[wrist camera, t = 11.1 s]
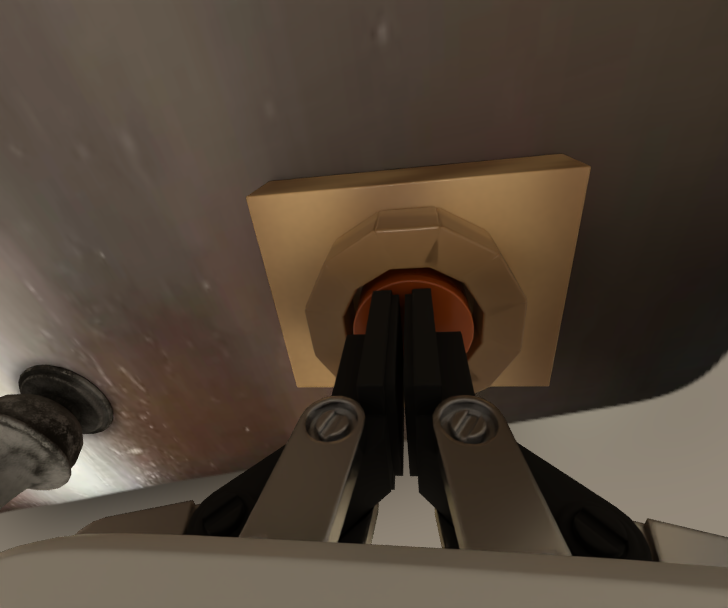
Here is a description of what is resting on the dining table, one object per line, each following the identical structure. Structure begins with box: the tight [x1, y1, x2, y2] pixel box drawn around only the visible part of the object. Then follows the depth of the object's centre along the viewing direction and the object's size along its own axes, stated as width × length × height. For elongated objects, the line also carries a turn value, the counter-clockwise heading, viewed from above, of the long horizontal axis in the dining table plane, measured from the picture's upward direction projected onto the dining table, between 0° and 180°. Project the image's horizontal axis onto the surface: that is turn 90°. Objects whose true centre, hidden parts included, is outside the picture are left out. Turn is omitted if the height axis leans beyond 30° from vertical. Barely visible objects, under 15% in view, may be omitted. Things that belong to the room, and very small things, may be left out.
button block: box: [246, 154, 591, 407], centre depth 13 cm, size 10×8×4 cm
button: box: [353, 267, 474, 356], centre depth 12 cm, size 4×4×2 cm
